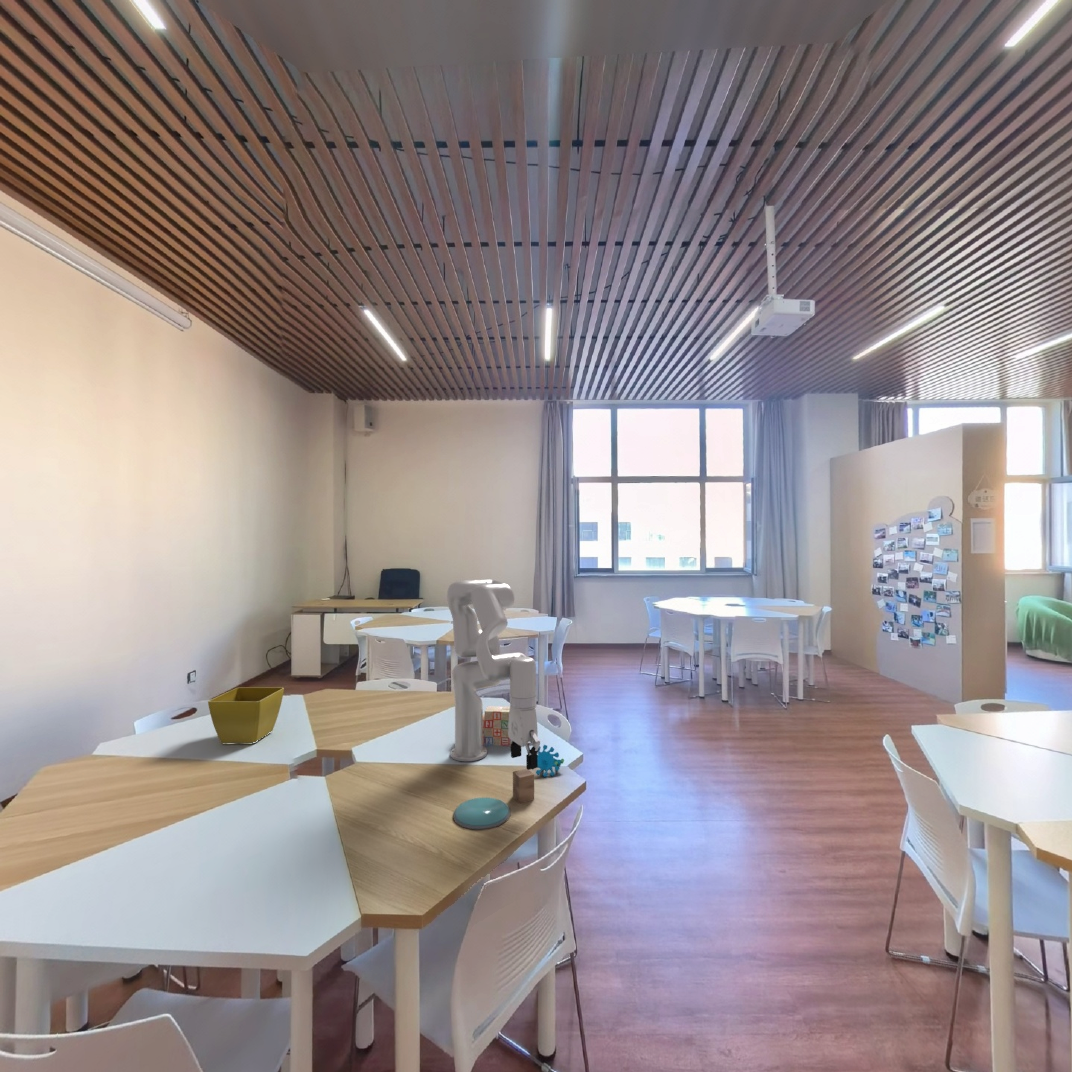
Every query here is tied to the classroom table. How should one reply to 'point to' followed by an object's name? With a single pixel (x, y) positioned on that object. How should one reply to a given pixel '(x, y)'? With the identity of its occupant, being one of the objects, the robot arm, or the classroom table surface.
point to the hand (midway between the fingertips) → (523, 762)
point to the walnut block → (523, 785)
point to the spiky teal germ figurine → (548, 761)
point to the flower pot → (245, 713)
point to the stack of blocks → (496, 726)
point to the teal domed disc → (481, 813)
